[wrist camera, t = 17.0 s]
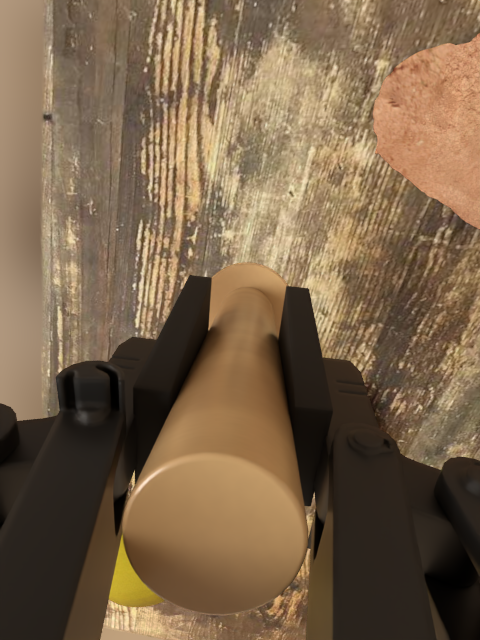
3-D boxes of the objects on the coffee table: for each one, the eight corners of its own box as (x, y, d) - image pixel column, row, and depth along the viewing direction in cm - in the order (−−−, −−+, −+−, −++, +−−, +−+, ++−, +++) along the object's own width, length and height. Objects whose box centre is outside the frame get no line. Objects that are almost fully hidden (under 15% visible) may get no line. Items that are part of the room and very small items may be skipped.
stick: (240, 241, 21) (184, 297, 5) (314, 304, 21) (467, 528, 6) (180, 315, 22) (-24, 551, 6) (252, 373, 22) (236, 730, 7)
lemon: (122, 545, 43) (93, 631, 36) (93, 491, 40) (55, 573, 33) (225, 535, 42) (215, 623, 34) (203, 477, 38) (188, 561, 31)
